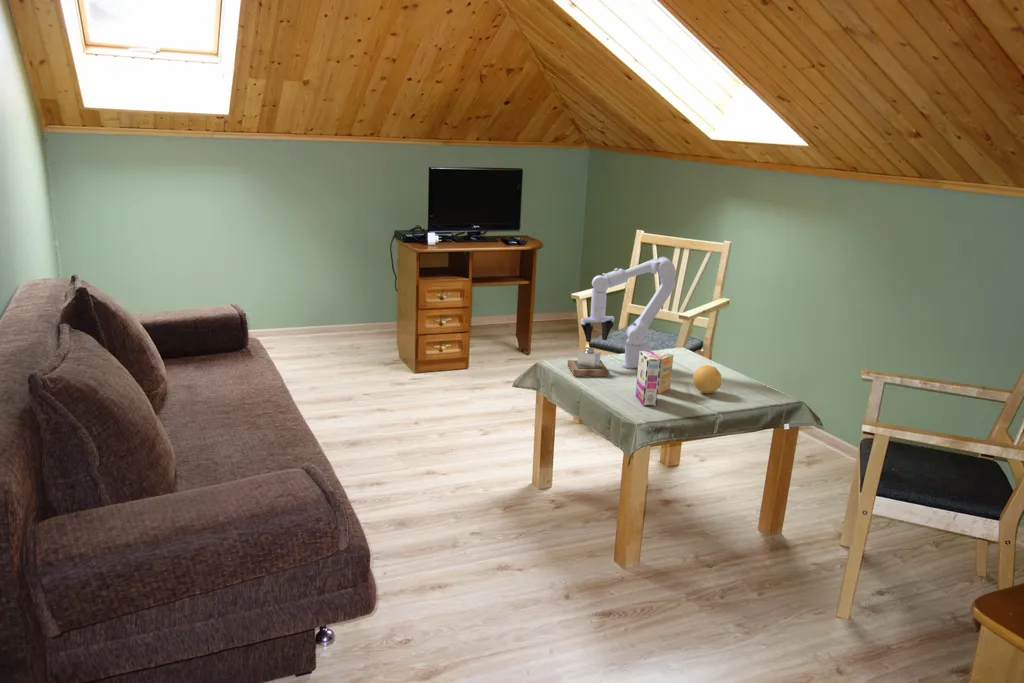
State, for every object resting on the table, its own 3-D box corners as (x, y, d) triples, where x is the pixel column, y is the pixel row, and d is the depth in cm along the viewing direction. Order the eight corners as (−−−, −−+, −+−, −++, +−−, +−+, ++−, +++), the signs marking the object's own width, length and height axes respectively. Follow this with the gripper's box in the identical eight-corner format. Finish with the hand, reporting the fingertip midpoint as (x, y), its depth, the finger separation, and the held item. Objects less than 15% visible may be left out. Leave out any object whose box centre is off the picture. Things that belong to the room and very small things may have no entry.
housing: (580, 361, 306) (581, 345, 304) (602, 365, 301) (603, 349, 300) (574, 363, 302) (575, 348, 301) (597, 368, 298) (598, 352, 296)
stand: (600, 366, 310) (600, 359, 309) (607, 376, 297) (608, 369, 297) (567, 366, 308) (567, 359, 308) (573, 376, 296) (573, 369, 295)
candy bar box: (657, 406, 268) (661, 359, 263) (643, 406, 267) (646, 359, 263) (649, 395, 278) (652, 350, 274) (635, 395, 278) (638, 350, 273)
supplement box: (660, 394, 280) (663, 359, 276) (648, 391, 282) (651, 356, 279) (671, 389, 286) (674, 354, 282) (658, 386, 289) (661, 351, 285)
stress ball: (690, 396, 282) (707, 385, 274) (684, 371, 286) (701, 359, 278) (712, 398, 286) (730, 387, 278) (706, 373, 290) (724, 361, 282)
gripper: (588, 310, 300) (586, 345, 304) (619, 307, 307) (617, 341, 310) (578, 306, 306) (576, 340, 310) (609, 303, 313) (607, 337, 316)
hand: (596, 340), depth 310 cm, fingers open, 7 cm apart
